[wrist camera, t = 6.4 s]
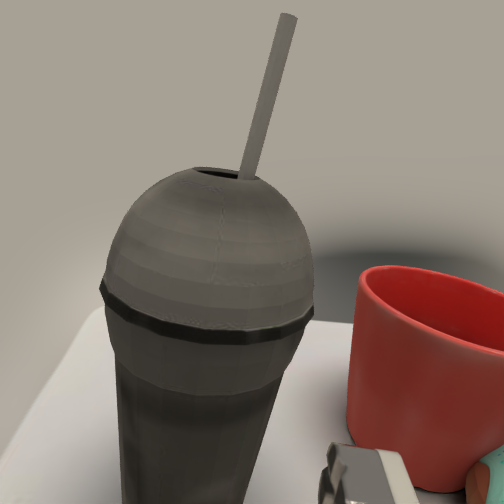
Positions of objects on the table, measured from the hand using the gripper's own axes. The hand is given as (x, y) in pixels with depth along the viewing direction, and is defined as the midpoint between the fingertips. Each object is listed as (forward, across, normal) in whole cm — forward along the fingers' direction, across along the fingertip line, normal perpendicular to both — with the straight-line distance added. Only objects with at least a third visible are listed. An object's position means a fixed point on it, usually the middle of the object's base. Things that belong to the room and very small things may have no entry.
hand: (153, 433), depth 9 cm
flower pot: (+13, +13, -10) cm, 21 cm away
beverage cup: (+5, 0, -10) cm, 12 cm away
